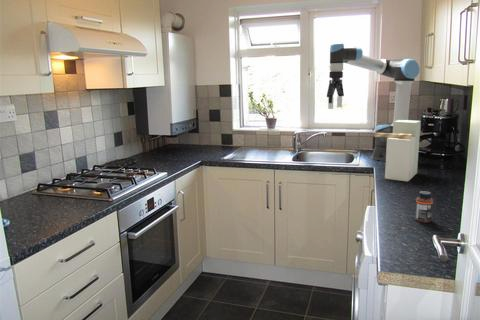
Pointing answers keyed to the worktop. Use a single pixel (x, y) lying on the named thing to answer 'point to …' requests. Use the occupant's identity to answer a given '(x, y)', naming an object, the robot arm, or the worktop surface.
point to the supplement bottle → (424, 207)
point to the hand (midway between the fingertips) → (335, 108)
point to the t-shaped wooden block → (394, 135)
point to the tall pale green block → (403, 151)
